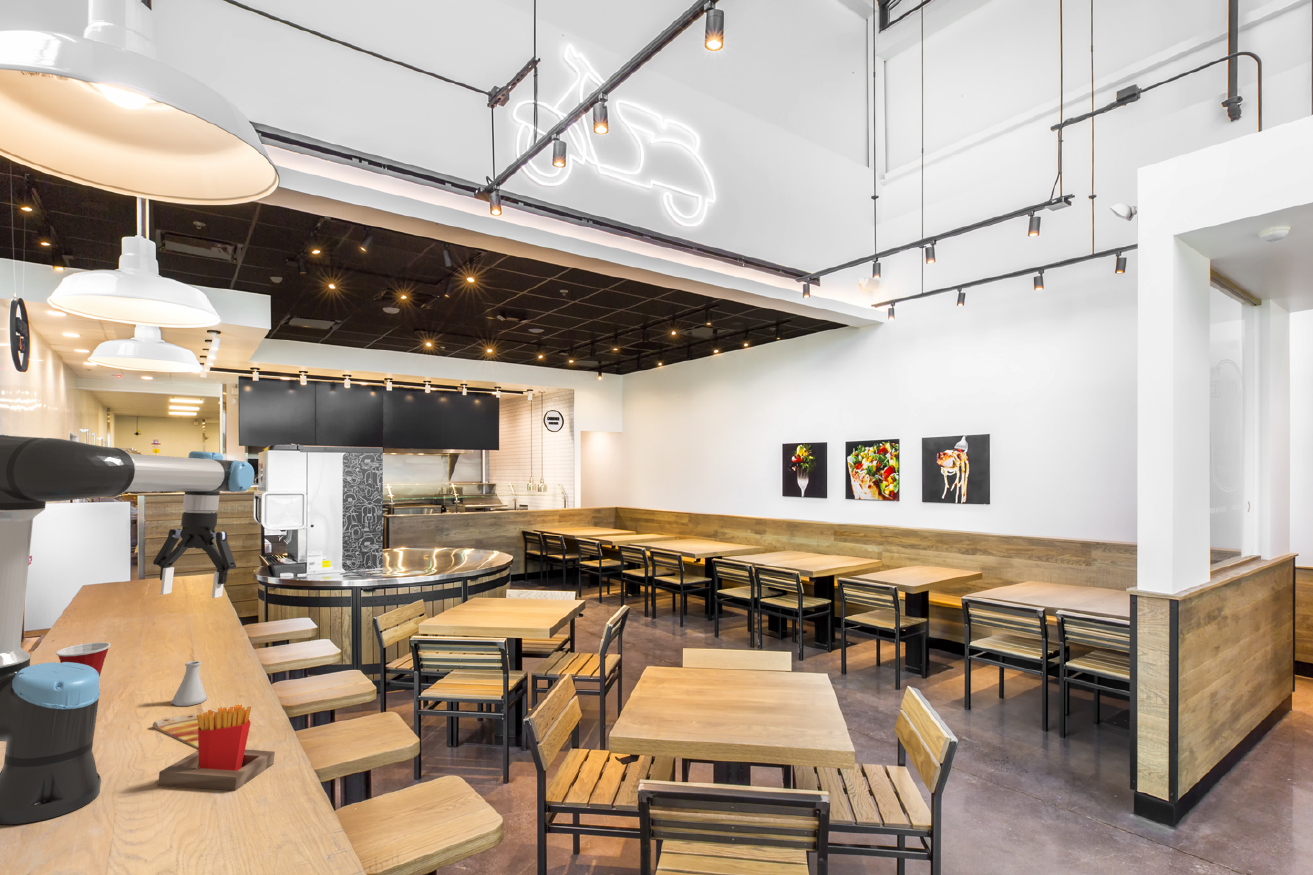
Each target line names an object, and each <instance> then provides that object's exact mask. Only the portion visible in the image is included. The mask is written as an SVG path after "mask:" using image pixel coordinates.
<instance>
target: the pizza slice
mask: <svg viewBox="0 0 1313 875" xmlns="http://www.w3.org/2000/svg"><path fill="white" fill-rule="evenodd" d="M226 710H227V711H228V709H226ZM212 711H213V717H214V712H218V710H216V711H215V710H212ZM206 712H207V715H208V711H206ZM206 712H205V711H204V712H199V713H201V715H203V713H206ZM199 713H198V712H197V713H191V714H185V715H179V716H173V717H169V718H164V719H159V720H155V721H154V722H153V723H152V728H153V729H155V730H157V731H158V732H161V733H163V734H165V735H167V736H169V737H172V738H173V739H176V740H178V741H180V742H183V743H185V744H186V745H189V746H191V747H193V748H195V749H197V750H198V727H199V724H198V721H197V717H196V716H197V714H199Z"/></svg>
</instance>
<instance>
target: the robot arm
mask: <svg viewBox="0 0 1313 875" xmlns="http://www.w3.org/2000/svg"><path fill="white" fill-rule="evenodd" d="M254 480H255V470H254V468H253V466H252V464H250V463H249V462H248V461H240V460H227V459H224V456H223V454H222V453H220V452H215V451H214V452H212V451H196V450H194V451H190V452H189V453H188V457H185V456H181V457H180V456H166V455H151V454H137V453H136V454H135V453H129V452H128V451H126V450H124V449H123V448H119V447H111V446H110V447H109V446H101V445H96V444H89V443H84V442H80V441H74V440H69V439H62V438H57V437H56V438H54V437H35V436H33V437H32V436H19V435H18V436H16V435H7V434H0V742H6V743H5V744H6V745H5V752H4V754H5V755H4V761H3V762H4V763H3V767H2V769H1V770H0V825H17V824H19V825H21V824H27V823H33V822H34V823H35V822H40V821H44V820H48V819H52V818H56V817H60V816H63V815H66V814H68V813H71V812H74V811H76V810H78V809H81V808H83V807H85V806H86V805H88V804H90V803H91V802H93V801H94V800H95V799H96V798H98V796H99V795H100V792H101V784H102V778H101V776H100V774H99V772H98V771H97V765H96V760H95V756H94V753H93V747H94V746H93V745H94V738H95V730H96V729H95V728H96V721H97V714H98V706H99V700H100V695H101V688H100V677H99V674H98V672H97V671H96V670H95V669H94V668H92V667H90V666H88V665H84V664H79V663H72V662H63V663H60V662H54V661H53V662H51V661H50V662H42V663H38V664H32V665H31V657H32V656H31V654H30V653H29V652H28V651H26V650H25V649H24V648H22V647H21V645H22V636H23V635H22V634H23V624H24V613H25V604H26V603H25V602H26V593H27V582H28V574H29V573H28V572H29V562H30V554H31V553H30V552H31V543H32V534H33V522H34V519H35V517H36V516H38V515H39V514H41V513H42V512H44V511H45V509H46V505H47V504H46V502H47V503H48V502H64V501H73V500H74V501H75V500H84V499H95V498H113V497H118V496H120V495H123V494H124V493H129V492H184V495H183V503H182V510H184V511H185V512H183V513H181V522H180V526H181V527H182V529H181V528H171V529H169V530H168V534H167V537H166V540H165V541H164V542H163V545H162V546H161V548H160V550H159V552H158V553H157V555H156V556H155V558H154V560H153V562H152V563H153V565H154V566H158V567H160V572H159V573H160V574H159V581H161V586H160V593H159V594H160V595H168V594H172V592H173V585H174V584H173V583H174V573H175V567H174V566H173V564H175V562H177V561H178V560H179V558H180V557H181V556H183V554H184V553H185V552H186V551H187V550H188V549H201V550H203V551H204V552H205V554H206V555H207V556H208V557H209V559H210V561H211V562H212V563H213V565H214V566H215V568H216V571H214V574H213V575H214V576H213V581H212V582H213V584H212V592H211V598H212V599H215V598H221V597H223V593H224V592H223V591H224V585H225V584H226V583H227V582H228V581H227V579H228V572H229V570H233V569H236V567H237V564H236V561H235V557H234V556H233V552H232V550H231V548H230V544H229V542H228V533H227V531H215V529H216V527H217V523H218V513H217V511H218V510H219V504H220V503H219V502H220V494H221V492H225V493H226V492H228V493H242V492H247V491H248V490H249V489H250V488H251V487H252V485H253V484H254ZM180 538H181V540H180ZM214 540H215V541H214ZM178 541H179V542H178ZM176 544H177V545H176Z"/></svg>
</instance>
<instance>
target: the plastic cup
mask: <svg viewBox="0 0 1313 875" xmlns="http://www.w3.org/2000/svg"><path fill="white" fill-rule="evenodd" d="M111 645H112V644H111V642H106V641H105V642H103V641H101V642H100V641H99V642H88V643H87V642H86V643H80V644H76V645H70V646H68V647H64V648H60V649H58V650H57V651H56V652H55V654H56V655H57V657H58V659H59V663H63V662H72V663H79V664H84V665H88V666H90V667H92V668H94V669H95V670H96V671H97V672H98V674H99V678H100V677H101V674H102V670H103V667H104V663H105V659H106V657H107V653H108V650H109V648H110V647H111Z"/></svg>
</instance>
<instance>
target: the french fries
mask: <svg viewBox="0 0 1313 875" xmlns="http://www.w3.org/2000/svg"><path fill="white" fill-rule="evenodd" d="M227 710H228V711H227ZM251 710H252V706H247V707H243V705H242V704H236V705H235V706H230V707H229V708H228V709H227V707H219V708H218V709H217V711H218V712H214V717H213V711H214V710H212V709H207V711H206V713H203V712H199V714H197V716H196V717H197V721H198V724H199V727H198V749H197V751H198V754H199V767H198V768H204V769H218V770H233V771H238V770H239V769H241V768H243V767H242V762H243V757H244V752H245V749H246V746H247V743H248V742H247V741H248V737H249V732H250V728H251V723H252V722H251V720H250V719H249V718H250V713H251ZM207 712H208V715H207ZM201 713H203V715H201Z"/></svg>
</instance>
